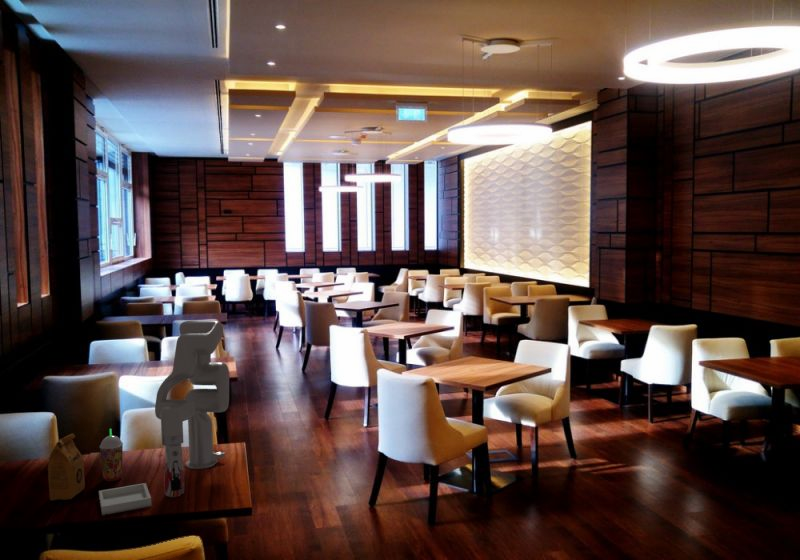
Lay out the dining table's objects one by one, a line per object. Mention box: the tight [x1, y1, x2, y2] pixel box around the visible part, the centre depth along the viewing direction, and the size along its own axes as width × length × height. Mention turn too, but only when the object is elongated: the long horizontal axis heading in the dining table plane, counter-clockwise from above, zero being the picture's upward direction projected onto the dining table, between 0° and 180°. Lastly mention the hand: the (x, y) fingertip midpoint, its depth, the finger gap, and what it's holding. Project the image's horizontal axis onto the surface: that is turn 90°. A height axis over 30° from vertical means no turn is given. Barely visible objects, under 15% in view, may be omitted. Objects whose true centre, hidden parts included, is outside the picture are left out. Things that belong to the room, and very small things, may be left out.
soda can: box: [163, 462, 185, 498], centre depth 252 cm, size 7×7×12 cm
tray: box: [98, 482, 152, 516], centre depth 245 cm, size 16×16×3 cm
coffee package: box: [47, 433, 86, 502], centre depth 252 cm, size 10×12×22 cm
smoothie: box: [99, 428, 124, 482], centre depth 268 cm, size 8×8×20 cm
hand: (174, 486), depth 252 cm, fingers closed on soda can, 7 cm apart
